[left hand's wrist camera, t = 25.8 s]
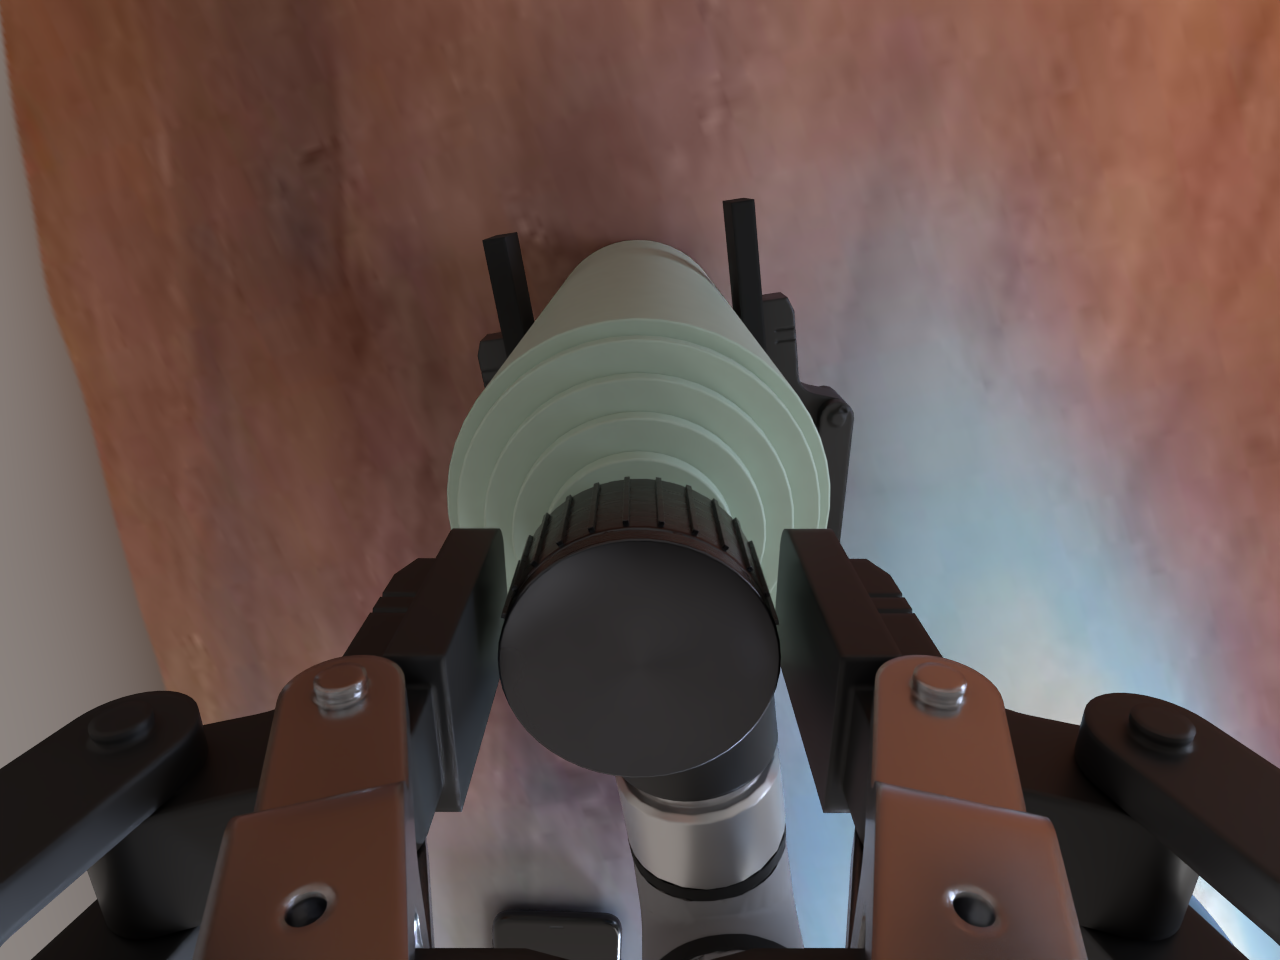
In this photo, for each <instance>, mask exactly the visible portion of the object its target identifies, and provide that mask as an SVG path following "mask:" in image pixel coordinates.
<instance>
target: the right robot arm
mask: <svg viewBox="0 0 1280 960" xmlns="http://www.w3.org/2000/svg"><path fill="white" fill-rule="evenodd" d="M723 210H724V221H725V231H726V242H727V252H728V262H729V273H730V283H731V294H732V304H733V310H734V311H735V313H736V314H737V315H738V317H739V318H740V319H741V321H742V322H743V323H744V325H745V326H746V327H747V329H748V330H749V331H750V333H751V334H752V335H753V337H754V338H755V339H756V341H757V342H758V343H759V345H760V346H761V347H762V349H763V350H764V351H765V353H766V354H767V355H768V356H769V358H770V359H771V360H772V362H773V363H774V364H775V366H776V367H777V368H778V370H779V371H780V372H781V374H782V375H783V376H784V378H785V379H786V380H787V382H788V383H789V384H790V386H791V387H792V388H793V390H794V391H795V392H796V394H797V395H798V396H799V398H800V400H801V401H802V403H803V404H804V406H805V408H806V409H807V411H808V412H809V414H810V415H811V418H812V420H813V422H814V424H815V426H816V429H817V431H818V433H819V435H820V438H821V441H822V445H823V448H824V452H825V455H826V459H827V464H828V471H829V479H830V510H829V517H828V523H827V529H832V530H833V531H834V533H835V535H836V537H837V539H838V540H839V542H840V536H841V527H842V518H843V509H844V501H845V492H846V483H847V474H848V465H849V456H850V448H851V439H852V430H853V421H854V415H853V411H852V409H851V407H850V406H849V405H848V404H847V403H846V402H845V401H844V400H843V399H842V398H841V397H840V396H839V395H838V394H837V392H836V391H835V390H833V389H832V388H831V387H828V386H819V387H817V386H812V385H808V384H804V383H802V382H800V380H799V375H798V360H797V345H796V330H795V315H794V310H793V308H792V306H791V304H790V302H789V299H788V297H786V296H785V295H784V294H782V293H781V292H778V293H771V294H764V295H762V289H761V277H760V265H759V253H758V240H757V228H756V216H755V204H754V199H748V198H740V199H733V200H726V201H723ZM482 241H483V246H484V251H485V256H486V260H487V265H488V270H489V275H490V280H491V284H492V289H493V294H494V299H495V303H496V308H497V313H498V318H499V323H500V327H501V332H500V333H493V334H487V335H486V336H485V337H484V338H483V339H482V340H481V341H480V346H479V352H478V360H479V364H480V369H481V372H482V377H483V382H484V386H485V388H486V386H487V385H488V384H489V382H490V381H491V380H492V378H493V377H494V376H495V374H496V373H497V372H498V370H499V369H500V368H501V366H502V365H503V364H504V362H505V361H506V360H507V358H508V357H509V356H510V354H511V353H512V352H513V350H514V349H515V347H516V346H517V345H518V343H519V342H520V341H521V339H522V338H523V337H524V335H525V334H526V333H527V331H528V330H529V329H530V327H531V326H532V325H533V323H534V318H533V313H532V307H531V302H530V297H529V292H528V287H527V281H526V276H525V271H524V266H523V261H522V256H521V250H520V245H519V240H518V235H517V232H515V233H508V234H502V235H496V236H493V237H490V238H488V239H485V240H482ZM777 741H778V732H777V722H776V711H775V701H774V695H773V697H772V700H771V702H770V704H769V706H768V708H767V709H766V711H765V713H764V715H763V716H762V718H761V719H760V720H759V722H758V723H757V724H756V726H755V727H754V728H753V729H752V730H751V731H750V732H749V733H748V734H747V735H746V736H745V737H744V738H743V739H742V740H741V741H740V742H739V743H737V744H736V745H735V746H734V747H732V748H731V749H730V750H728V751H727V752H725V753H724V754H722V755H720V756H719V757H717V758H715V759H713V760H711V761H709V762H707V763H705V764H703V765H700V766H698V767H695V768H692V769H689V770H686V771H683V772H678V773H674V774H669V775H663V776H654V777H624V776H615V777H616V782H617V787H618V791H619V796H620V801H621V806H622V810H623V815H624V820H625V825H626V829H627V834H628V841H629V845H630V849H631V853H632V856H633V861H634V867H635V874H636V880H637V886H638V893H639V899H640V907H641V917H642V960H711V959H715V958H719V957H723V956H727V955H730V954H734V953H738V952H742V951H746V950H749V949H753V948H804V945H803V941H802V936H801V931H800V927H799V922H798V917H797V912H796V907H795V901H794V895H793V888H792V880H791V872H790V865H789V857H788V850H787V842H786V825H785V819H786V813H785V803H784V794H783V784H782V775H781V765H780V755H779V748H778V746H777ZM1189 905H1190V906H1191V907H1192V908H1193V909H1194V910H1195V911H1196V912H1197V913H1199V914H1200V915H1201V916H1202V917H1203V918H1204V919H1205V920H1206V921H1207V922H1208V923H1209V924H1211V925H1212V926H1213V927H1214V928H1215V929H1216V930H1217V931H1218V932H1219V933H1220V934H1221V935H1223V936H1224V937H1225V938H1226V939H1227V940H1228V941H1229V942H1230V943H1231V944H1232V942H1231V941H1230V940H1229V938H1228V937H1227V936H1226V934H1225V933H1224V932H1223V930H1222V929H1221V928H1220V927H1219V925H1218V924H1217V923H1216V921H1215V920H1214V919H1213V918H1212V916H1211V915H1210V914H1209V913H1208V912H1207V910H1206V909H1205V908H1204V907H1203V906H1202V905H1201V903H1200V902H1199V901H1198V900H1197V899H1196V898H1195V897H1194V896H1193V895H1192V896H1191V899H1190V902H1189ZM1232 945H1233V944H1232Z"/></svg>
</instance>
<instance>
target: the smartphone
mask: <svg viewBox="0 0 1280 960" xmlns="http://www.w3.org/2000/svg"><path fill="white" fill-rule="evenodd" d="M621 941H622V926H621V923H620V921H619V919H618V918H617V917H616V916H614V915H612V914H609V913H596V912H567V911H535V910H506V911H503V912H501V913H499V914H498V915H497V916H496V917H495V919H494V922H493V948H527V949H531V950H534V951H538V952H542V953H546V954H550V955H553V956H557V957H561V958H565V959H569V960H621Z"/></svg>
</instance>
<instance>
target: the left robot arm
mask: <svg viewBox="0 0 1280 960" xmlns="http://www.w3.org/2000/svg"><path fill="white" fill-rule="evenodd" d="M507 595H508V594H507V580H506V567H505V553H504V541H503V535H502V531H501V529H500V528H453V529H452V530H451V531H450V533H449V535H448V537H447V538H446V540H445V542H444V544H443V546H442V548H441V549H440V551H439V553H438V555H437V557H436V558H418V559H416V560H415V561H413V562H412V563H410V564H409V565H407V566H406V567H404V568H403V569H402V570H400V571H399V572H397V573H396V574H394V576H393V577H392V579H391V580H390V582H389V584H388V585H387V587H386V588H385V590H384V592H383V596H382V597H380V598H379V600H378V601H377V603H376V604H375V606H374V607H373V613H370V614H369V615H368V617H367V619H366V620H365V622H364V623H363V625H362V627H361V628H360V630H359V631H358V633H357V634H356V636H355V638H354V639H353V641H352V642H351V644H350V646H349V647H348V649H347V650H346V652H345V653H344V655H343V657H339V658H334V659H331V660H328V661H324V662H322V663H319V664H317V665H314V666H312V667H310V668H308V669H306V670H305V671H303V672H301V673H300V674H298V675H297V676H295V677H294V678H293V679H292V680H291V681H289V682H288V683H287V685H286V686H285V687H284V688H283V689H282V691H281V692H280V694H279V696H278V699H277V703H276V708H275V710H271V711H268V712H264V713H260V714H256V715H251V716H246V717H241V718H236V719H231V720H226V721H221V722H216V723H212V724H207V725H203V724H202V720H201V716H200V712H199V709H198V706H197V703H196V702H195V701H194V700H193V699H192V698H191V697H189V696H187V695H185V694H182V693H179V692H173V691H152V692H144V693H138V694H134V695H130V696H126V697H122V698H119V699H116V700H113V701H110V702H108V703H105V704H103V705H101V706H98V707H96V708H94V709H92V710H90V711H88V712H86V713H85V714H83V715H81V716H80V717H78V718H76V719H75V720H73V721H72V722H70V723H69V724H67V725H66V726H64V727H63V728H61V729H60V730H58V731H57V732H55V733H54V734H52V735H51V736H49V737H48V738H46V739H45V740H43V741H42V742H40V743H39V744H37V745H36V746H34V747H33V748H31V749H30V750H28V751H27V752H25V753H24V754H22V755H21V756H19V757H18V758H16V759H15V760H13V761H12V762H10V763H9V764H7V765H6V766H4V767H3V768H1V769H0V947H1V946H2V944H3V943H4V942H5V941H6V940H7V939H8V938H9V937H10V936H12V935H13V934H14V933H15V932H16V931H17V930H18V929H20V928H21V927H22V926H23V925H24V924H25V923H27V922H28V921H29V920H30V919H31V918H32V917H33V916H35V915H36V914H37V913H38V912H39V911H40V910H41V909H43V908H44V907H45V906H46V905H47V904H48V903H50V902H51V901H52V900H53V899H54V898H55V897H56V896H58V895H59V894H60V893H61V892H62V891H63V890H65V889H66V888H67V887H68V886H69V885H70V884H72V883H73V882H74V881H75V880H76V879H77V878H78V877H80V876H81V875H82V874H83V873H84V872H85V871H88V874H89V877H90V880H91V882H92V885H93V888H94V891H95V894H96V897H97V900H96V901H95V902H94V903H92V904H91V905H90V906H89V907H88V908H87V909H86V910H85V911H84V912H83V913H81V914H80V915H79V916H78V917H77V918H76V919H75V920H74V921H73V922H72V923H71V924H69V925H68V926H67V927H66V928H65V929H64V930H63V931H62V932H61V933H60V934H59V935H57V936H56V937H55V938H54V939H53V940H52V941H51V942H50V943H49V944H48V945H47V946H46V947H44V948H43V949H42V950H41V951H40V952H39V953H38V954H37V955H36V956H35V957H33V958H32V959H31V960H569V959H565V958H561V957H557V956H553V955H550V954H546V953H542V952H538V951H534V950H531V949H527V948H434V932H433V916H432V900H431V885H430V869H429V854H428V847H427V839H426V836H427V834H428V831H429V828H430V825H431V822H432V819H433V816H434V813H435V812H462V809H463V805H464V802H465V798H466V794H467V791H468V787H469V784H470V780H471V777H472V773H473V770H474V766H475V763H476V759H477V756H478V752H479V749H480V745H481V742H482V738H483V735H484V731H485V728H486V724H487V721H488V717H489V714H490V710H491V707H492V703H493V700H494V696H495V693H496V689H497V686H498V682H499V678H500V676H499V669H498V642H499V638H500V634H501V630H502V626H503V623H504V619H503V618H501V614H502V611H503V608H504V604H505V601H506V598H507ZM775 611H776V614H777V617H778V620H779V625H776V627H777V631H778V635H779V640H780V650H781V664H780V666H781V669H782V672H783V676H784V679H785V683H786V686H787V690H788V693H789V696H790V700H791V703H792V707H793V710H794V714H795V717H796V720H797V724H798V727H799V731H800V734H801V737H802V741H803V744H804V748H805V751H806V755H807V758H808V761H809V765H810V768H811V772H812V775H813V779H814V782H815V785H816V789H817V792H818V796H819V799H820V803H821V806H822V809H823V813H851V816H852V819H853V821H854V824H855V832H854V839H853V847H852V854H851V869H850V885H849V900H848V916H847V932H846V948H753V949H749V950H746V951H742V952H738V953H734V954H730V955H727V956H723V957H719V958H715V959H711V960H1249V959H1248V958H1247V957H1246V956H1244V955H1243V954H1242V953H1241V952H1240V951H1239V950H1238V949H1237V948H1236V947H1235V946H1234V945H1232V944H1231V943H1230V942H1229V941H1228V940H1227V939H1226V938H1225V937H1224V936H1223V935H1221V934H1220V933H1219V932H1218V931H1217V930H1216V929H1215V928H1214V927H1213V926H1212V925H1211V924H1209V923H1208V922H1207V921H1206V920H1205V919H1204V918H1203V917H1202V916H1201V915H1200V914H1199V913H1197V912H1196V911H1195V910H1194V909H1193V908H1192V907H1191V906H1190V905H1189V902H1190V899H1191V896H1192V893H1193V891H1194V888H1195V885H1196V882H1197V880H1198V877H1199V876H1200V877H1202V878H1203V879H1204V880H1205V881H1206V882H1207V883H1208V884H1210V885H1211V886H1212V887H1213V888H1214V889H1215V890H1217V891H1218V892H1219V893H1220V894H1221V895H1222V896H1223V897H1225V898H1226V899H1227V900H1228V901H1229V902H1230V903H1232V904H1233V905H1234V906H1235V907H1236V908H1237V909H1238V910H1240V911H1241V912H1242V913H1243V914H1244V915H1245V916H1247V917H1248V918H1249V919H1250V920H1251V921H1252V922H1254V923H1255V924H1256V925H1257V926H1258V927H1259V928H1260V929H1262V930H1263V931H1264V932H1265V933H1266V934H1267V935H1269V936H1270V937H1271V938H1272V939H1273V940H1274V941H1275V942H1276V943H1277V944H1278V945H1279V946H1280V769H1279V768H1277V767H1276V766H1274V765H1273V764H1271V763H1270V762H1268V761H1267V760H1265V759H1264V758H1262V757H1261V756H1259V755H1258V754H1256V753H1255V752H1253V751H1252V750H1250V749H1249V748H1247V747H1246V746H1244V745H1243V744H1241V743H1240V742H1238V741H1237V740H1235V739H1234V738H1232V737H1231V736H1229V735H1228V734H1226V733H1225V732H1223V731H1222V730H1220V729H1219V728H1217V727H1216V726H1214V725H1213V724H1211V723H1210V722H1208V721H1207V720H1205V719H1203V718H1202V717H1200V716H1198V715H1197V714H1195V713H1193V712H1191V711H1189V710H1187V709H1185V708H1182V707H1180V706H1178V705H1175V704H1173V703H1170V702H1167V701H1164V700H1161V699H1157V698H1153V697H1149V696H1145V695H1139V694H1131V693H1110V694H1104V695H1101V696H1098V697H1095V698H1094V699H1092V700H1090V702H1089V703H1088V704H1087V705H1086V708H1085V710H1084V714H1083V718H1082V722H1081V725H1080V726H1079V725H1074V724H1069V723H1064V722H1059V721H1055V720H1050V719H1045V718H1040V717H1035V716H1030V715H1026V714H1022V713H1018V712H1014V711H1011V710H1008V709H1005V708H1004V703H1003V699H1002V696H1001V694H1000V692H999V691H998V689H997V688H996V687H995V686H994V685H993V683H992V682H991V681H989V680H988V679H987V678H986V677H985V676H983V675H982V674H980V673H979V672H977V671H975V670H974V669H972V668H970V667H968V666H966V665H963V664H961V663H958V662H956V661H952V660H949V659H946V658H943V657H942V655H941V654H940V652H939V651H938V649H937V648H936V646H935V644H934V643H933V641H932V640H931V638H930V637H929V635H928V633H927V632H926V630H925V629H924V627H923V626H922V624H921V623H920V621H919V619H918V618H917V616H916V615H915V613H912V609H911V607H910V605H909V604H908V602H907V601H906V599H905V598H902V593H901V591H900V590H899V588H898V587H897V585H896V584H895V582H894V580H893V579H892V577H891V576H890V575H889V574H888V573H886V572H885V571H883V570H882V569H880V568H879V567H878V566H876V565H875V564H873V563H872V562H870V561H869V560H867V559H849V558H848V556H847V555H846V553H845V551H844V549H843V548H842V546H841V544H840V542H839V540H838V539H837V537H836V535H835V533H834V531H833V530H832V529H784V530H783V532H782V535H781V541H780V551H779V564H778V578H777V591H776V605H775Z"/></svg>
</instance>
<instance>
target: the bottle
mask: <svg viewBox="0 0 1280 960" xmlns="http://www.w3.org/2000/svg"><path fill="white" fill-rule="evenodd" d="M624 477H630V479H653V480H655V479H656V477H659V478H661V480H662V481H666V482H671V483H675V484H679V485H681V486H684V487H685V486H686V485H689V486H691V487H692V490H694V491H696V492H698V493H700V494H702V495H704V496H706V497H707V498H709V499H710V500H712V499H713V498H714V499H716V500H717V501H718V504H719V506H720V507H721V508H722V509H723V510H725V511H726V512H727V513H728V514H729V515H730V516H731V517H732V518H733V519H734V518H735V517H736V518H737V519H738V520H739V522H740V526H741V529H742V531H743V533H744V535H745V536H746V538H747V540H748V541H751V540H752V541H753V543H754V546H755V549H756V552H757V555H758V558H759V561H760V564H761V567H762V570H763V574H764V577H765V580H766V583H767V586H768V589H769V592H770V595H771V598H772V601H773V605H774V608H775V605H776V591H777V578H778V564H779V551H780V541H781V535H782V532H783V530H784V529H827V523H828V517H829V510H830V479H829V471H828V464H827V459H826V455H825V452H824V448H823V445H822V441H821V438H820V435H819V433H818V431H817V429H816V426H815V424H814V422H813V420H812V418H811V415H810V414H809V412H808V411H807V409H806V408H805V406H804V404H803V403H802V401H801V400H800V398H799V396H798V395H797V394H796V392H795V391H794V390H793V388H792V387H791V386H790V384H789V383H788V382H787V380H786V379H785V378H784V376H783V375H782V374H781V372H780V371H779V370H778V368H777V367H776V366H775V364H774V363H773V362H772V360H771V359H770V358H769V356H768V355H767V354H766V353H765V351H764V350H763V349H762V347H761V346H760V345H759V343H758V342H757V341H756V339H755V338H754V337H753V335H752V334H751V333H750V331H749V330H748V329H747V327H746V326H745V325H744V323H743V322H742V321H741V319H740V318H739V317H738V315H737V314H736V313H735V311H734V310H733V309H732V308H731V306H730V305H729V304H728V302H727V301H726V300H725V298H724V297H723V296H722V294H721V293H720V292H719V290H718V289H717V288H716V286H715V285H714V284H713V282H712V281H711V280H710V278H709V277H708V276H707V274H706V273H705V272H704V271H703V270H702V269H701V267H700V266H699V265H698V264H697V263H696V262H694V261H693V260H692V259H691V258H690V257H688V256H687V255H685V254H684V253H683V252H681V251H679V250H677V249H675V248H673V247H671V246H668V245H665V244H662V243H659V242H654V241H649V240H629V241H622V242H618V243H614V244H611V245H608V246H606V247H603V248H601V249H599V250H597V251H596V252H594V253H592V254H591V255H589V256H588V257H587V258H585V259H584V260H583V261H582V262H581V263H580V264H579V265H578V266H577V267H576V268H575V269H574V270H573V271H572V273H571V274H570V275H569V276H568V278H567V279H566V280H565V282H564V283H563V284H562V286H561V287H560V288H559V290H558V291H557V292H556V294H555V295H554V296H553V298H552V299H551V300H550V302H549V303H548V305H547V306H546V307H545V309H544V310H543V311H542V313H541V314H540V315H539V317H538V318H537V319H536V321H535V322H534V323H533V325H532V326H531V327H530V329H529V330H528V331H527V333H526V334H525V335H524V337H523V338H522V339H521V341H520V342H519V343H518V345H517V346H516V347H515V349H514V350H513V352H512V353H511V354H510V356H509V357H508V358H507V360H506V361H505V362H504V364H503V365H502V366H501V368H500V369H499V370H498V372H497V373H496V374H495V376H494V377H493V378H492V380H491V381H490V382H489V384H488V385H487V386H486V388H485V389H484V390H483V392H482V393H481V395H480V396H479V397H478V399H477V400H476V402H475V403H474V405H473V407H472V408H471V410H470V412H469V414H468V415H467V417H466V419H465V420H464V422H463V425H462V427H461V430H460V432H459V435H458V437H457V440H456V442H455V445H454V449H453V453H452V458H451V462H450V466H449V474H448V485H447V502H448V516H449V521H450V526H451V530H452V529H453V528H500V529H501V531H502V535H503V541H504V553H505V567H506V580H507V594H508V592H509V589H510V585H511V582H512V579H513V576H514V573H515V570H516V566H517V563H518V560H521V557H522V553H523V550H524V547H525V544H526V540H527V538H528V536H529V535H531V536H533V535H534V533H535V532H536V530H537V529H538V527H539V526H540V525H541V523H542V520H543V516H544V515H545V514H546V513H548V514H551V513H552V512H553V511H554V510H555V509H556V508H557V507H558V506H560V505H561V504H562V503H564V502H565V500H566V497H567V496H569V495H571V496H572V497H573V496H575V495H577V494H578V493H580V492H582V491H584V490H587V489H589V488H592V487H593V486H594V483H598V482H599V484H604V483H608V482H611V481H618V480H624Z"/></svg>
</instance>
